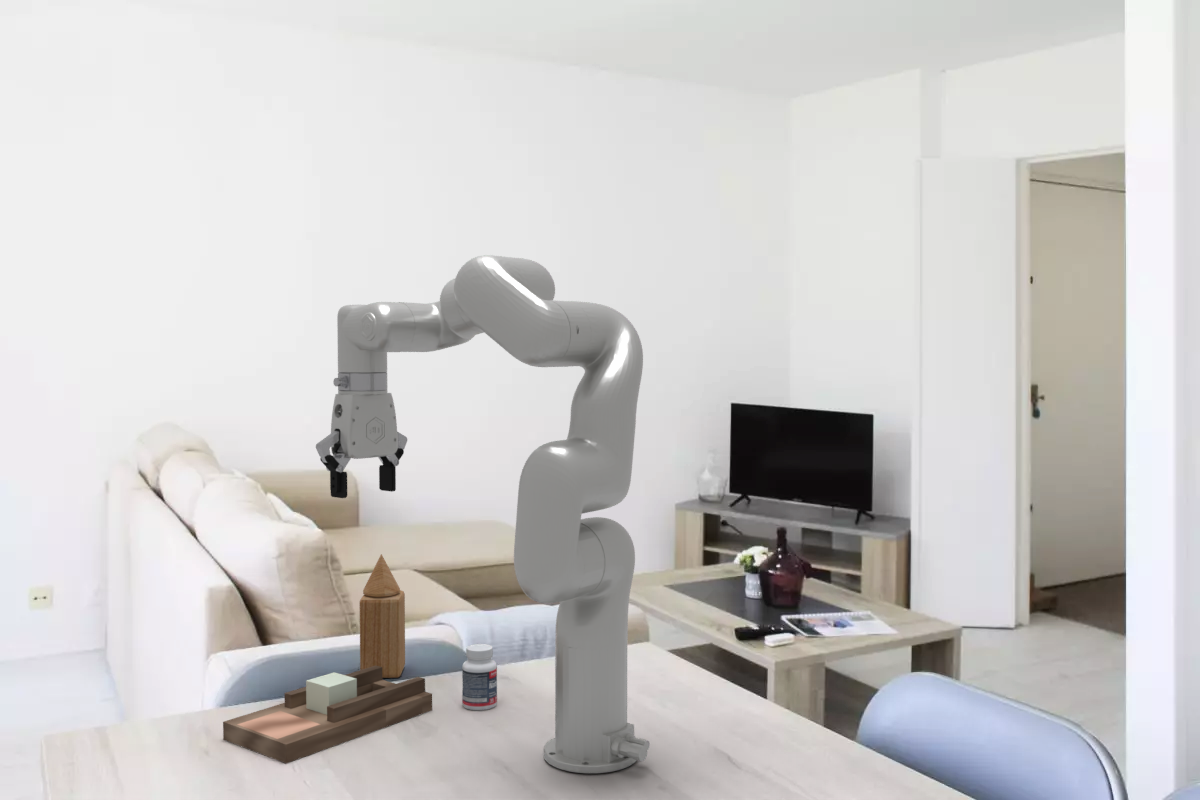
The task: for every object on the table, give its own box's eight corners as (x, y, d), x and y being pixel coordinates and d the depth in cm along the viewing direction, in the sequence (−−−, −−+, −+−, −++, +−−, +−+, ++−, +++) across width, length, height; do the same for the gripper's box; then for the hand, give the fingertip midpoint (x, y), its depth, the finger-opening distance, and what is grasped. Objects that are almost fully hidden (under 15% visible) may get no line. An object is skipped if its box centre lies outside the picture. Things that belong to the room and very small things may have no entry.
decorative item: (366, 667, 182) (365, 550, 181) (405, 666, 182) (404, 549, 181) (359, 679, 175) (358, 557, 174) (400, 678, 175) (399, 557, 175)
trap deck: (432, 710, 160) (432, 680, 160) (286, 763, 139) (285, 729, 139) (369, 691, 169) (369, 663, 168) (223, 739, 148) (222, 707, 148)
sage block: (356, 706, 154) (356, 678, 154) (328, 715, 150) (328, 687, 150) (334, 699, 157) (334, 672, 157) (306, 708, 153) (306, 680, 153)
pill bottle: (494, 711, 160) (494, 652, 159) (459, 711, 160) (459, 652, 159) (498, 699, 165) (498, 642, 165) (465, 699, 165) (464, 642, 165)
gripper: (333, 386, 158) (334, 502, 159) (420, 383, 172) (421, 490, 172) (301, 385, 162) (303, 498, 163) (388, 382, 176) (389, 486, 177)
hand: (363, 493), depth 168 cm, fingers open, 9 cm apart
